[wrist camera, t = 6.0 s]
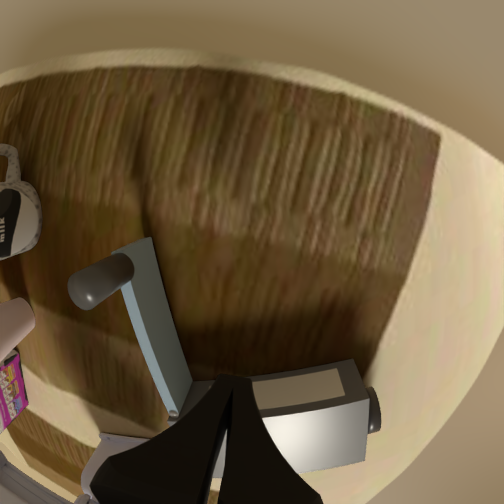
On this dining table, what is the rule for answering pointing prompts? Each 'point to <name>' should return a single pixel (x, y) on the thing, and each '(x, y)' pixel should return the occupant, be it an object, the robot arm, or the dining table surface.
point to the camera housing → (309, 415)
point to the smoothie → (14, 324)
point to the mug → (17, 209)
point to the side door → (140, 313)
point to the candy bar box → (11, 389)
